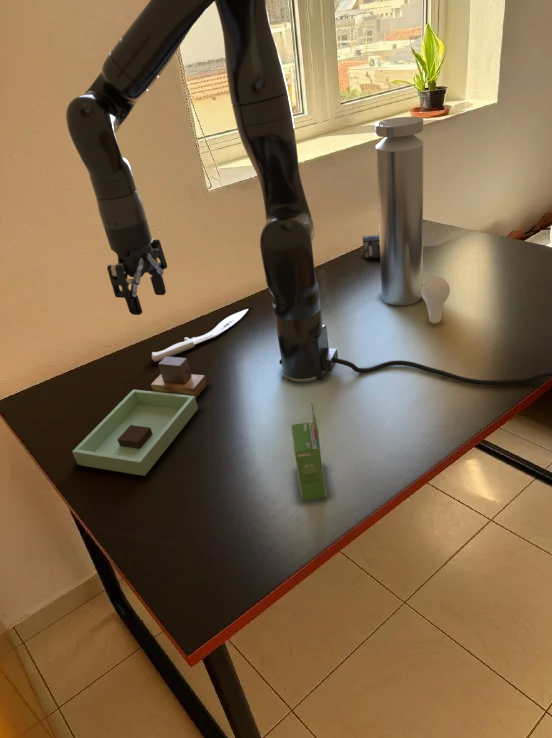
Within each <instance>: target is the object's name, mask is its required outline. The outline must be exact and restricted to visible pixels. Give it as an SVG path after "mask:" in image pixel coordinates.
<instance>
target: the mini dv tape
mask: <svg viewBox="0 0 552 738" xmlns="http://www.w3.org/2000/svg"><path fill="white" fill-rule="evenodd" d="M362 250H363V251H362V252H363V259H374V258H380V240H379V234H376V235H363V236H362Z"/></svg>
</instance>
